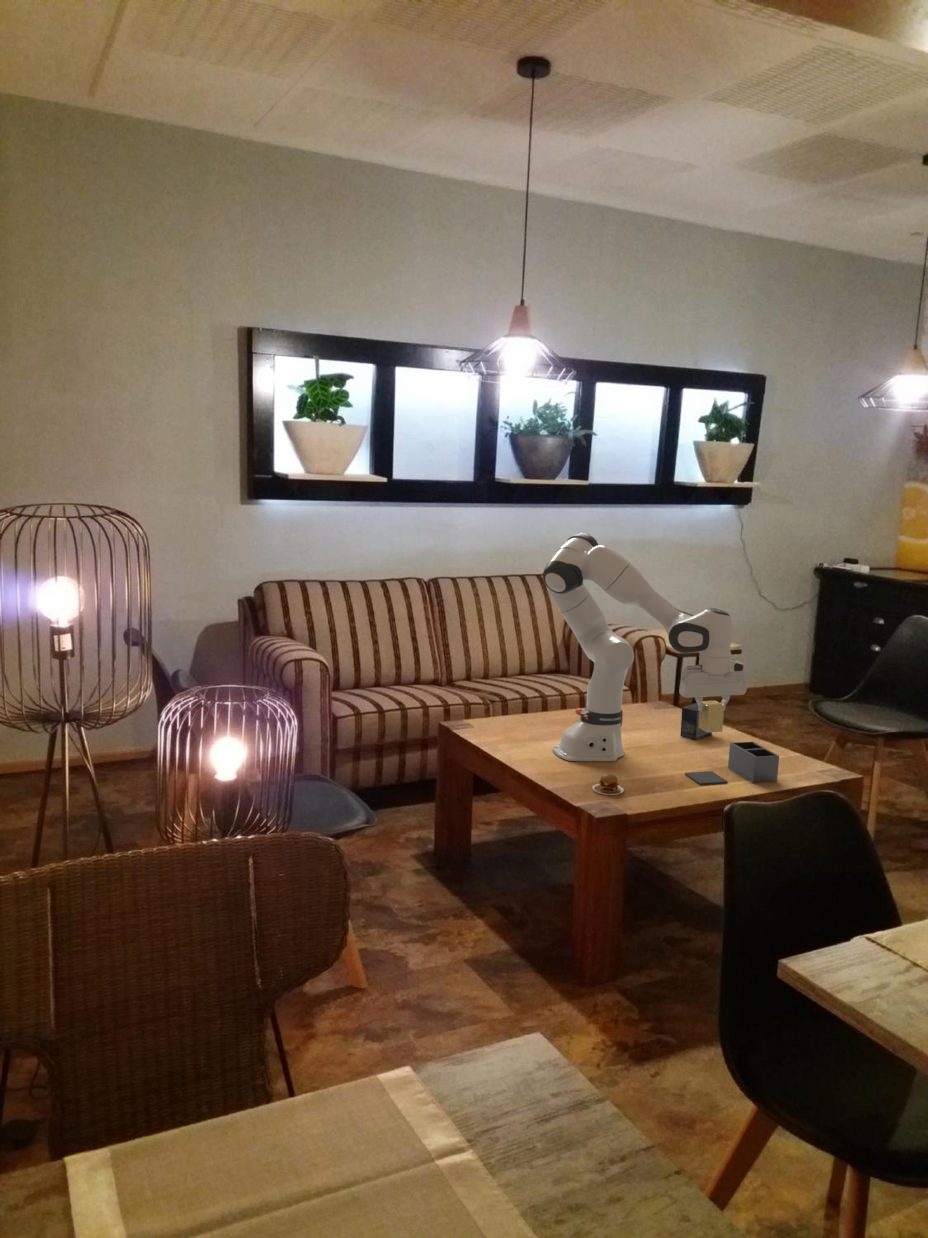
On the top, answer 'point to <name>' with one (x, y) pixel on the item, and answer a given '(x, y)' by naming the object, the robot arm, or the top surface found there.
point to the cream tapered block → (711, 717)
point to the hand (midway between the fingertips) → (711, 710)
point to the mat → (706, 778)
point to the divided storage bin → (753, 762)
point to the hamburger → (608, 784)
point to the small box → (691, 723)
